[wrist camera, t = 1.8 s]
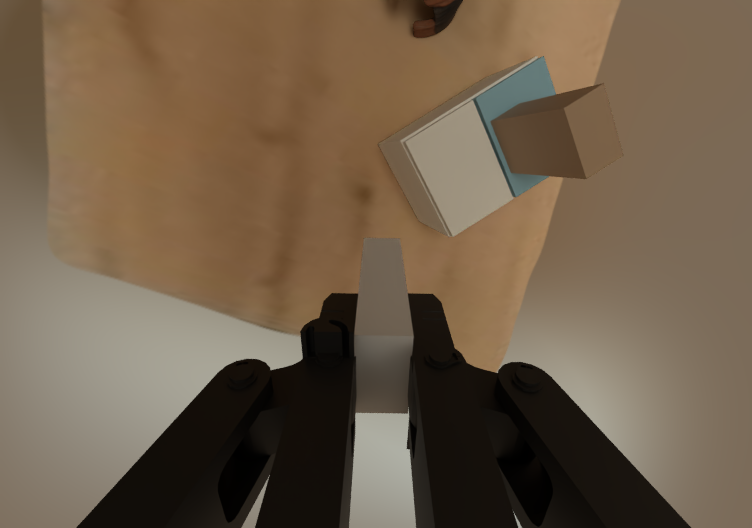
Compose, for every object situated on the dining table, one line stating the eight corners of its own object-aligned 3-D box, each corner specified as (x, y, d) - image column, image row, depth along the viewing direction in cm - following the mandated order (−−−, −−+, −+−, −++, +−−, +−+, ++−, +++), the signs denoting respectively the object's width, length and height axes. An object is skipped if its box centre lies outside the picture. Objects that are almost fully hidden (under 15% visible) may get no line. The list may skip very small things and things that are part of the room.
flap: (511, 196, 34) (591, 211, 25) (471, 99, 30) (546, 75, 21) (570, 158, 34) (671, 159, 25) (537, 58, 31) (640, 16, 21)
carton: (419, 221, 42) (453, 240, 33) (377, 144, 39) (403, 140, 29) (517, 160, 43) (578, 161, 33) (485, 77, 39) (543, 52, 30)
